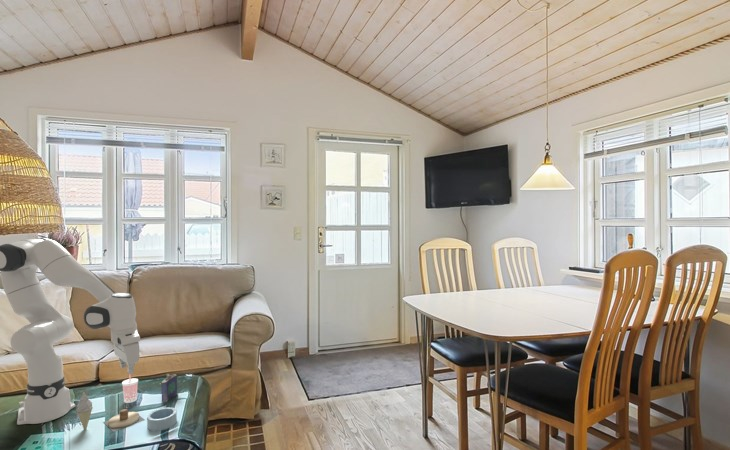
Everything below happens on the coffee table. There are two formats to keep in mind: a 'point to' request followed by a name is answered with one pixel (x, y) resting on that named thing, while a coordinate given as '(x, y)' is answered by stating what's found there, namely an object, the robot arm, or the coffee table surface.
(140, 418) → the mat
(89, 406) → the ice cream cone
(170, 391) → the flask
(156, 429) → the bowl
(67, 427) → the coffee table surface
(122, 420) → the lid
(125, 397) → the beverage cup
